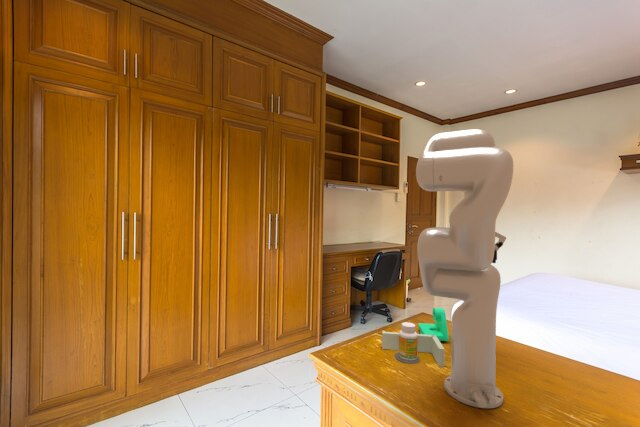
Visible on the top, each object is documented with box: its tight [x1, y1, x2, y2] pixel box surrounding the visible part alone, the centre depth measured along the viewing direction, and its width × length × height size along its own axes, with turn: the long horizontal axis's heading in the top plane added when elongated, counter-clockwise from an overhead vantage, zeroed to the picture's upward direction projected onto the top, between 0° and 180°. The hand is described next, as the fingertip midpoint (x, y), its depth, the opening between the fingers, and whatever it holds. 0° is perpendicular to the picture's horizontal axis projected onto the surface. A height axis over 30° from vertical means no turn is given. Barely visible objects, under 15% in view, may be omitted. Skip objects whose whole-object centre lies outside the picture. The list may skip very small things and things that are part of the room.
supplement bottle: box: [398, 321, 418, 361], centre depth 89 cm, size 5×5×10 cm
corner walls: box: [381, 330, 446, 368], centre depth 90 cm, size 10×17×5 cm, turn 82°
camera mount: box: [418, 307, 450, 342], centre depth 107 cm, size 12×8×10 cm, turn 173°
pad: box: [394, 351, 420, 365], centre depth 89 cm, size 7×7×1 cm
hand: (476, 261), depth 96 cm, fingers open, 9 cm apart
